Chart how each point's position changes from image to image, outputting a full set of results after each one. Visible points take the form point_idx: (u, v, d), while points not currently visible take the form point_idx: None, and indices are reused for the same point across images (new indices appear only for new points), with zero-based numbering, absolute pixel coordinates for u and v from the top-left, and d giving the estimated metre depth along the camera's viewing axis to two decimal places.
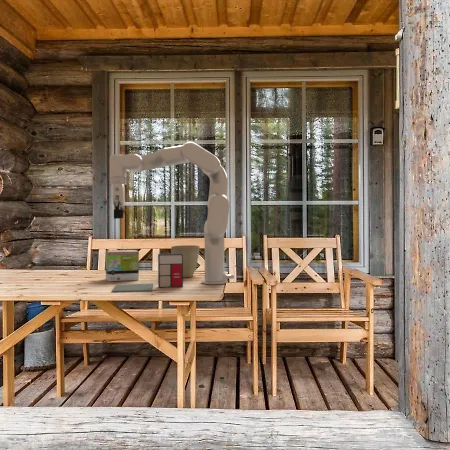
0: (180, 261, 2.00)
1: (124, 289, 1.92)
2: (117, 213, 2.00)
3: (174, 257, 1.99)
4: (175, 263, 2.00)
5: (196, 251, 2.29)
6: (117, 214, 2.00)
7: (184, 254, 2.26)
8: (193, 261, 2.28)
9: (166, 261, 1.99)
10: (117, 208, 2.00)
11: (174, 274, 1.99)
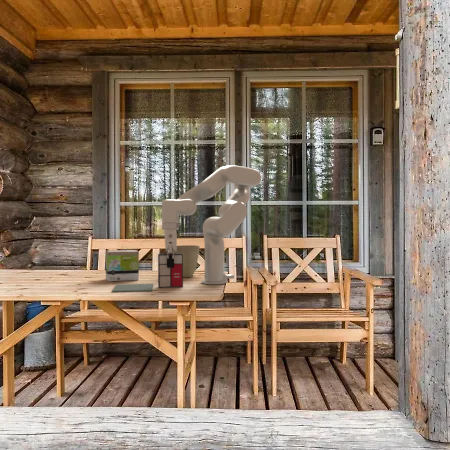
0: (180, 261, 2.00)
1: (124, 289, 1.92)
2: (170, 262, 1.97)
3: (174, 257, 1.99)
4: (175, 263, 2.00)
5: (196, 251, 2.29)
6: (170, 263, 1.97)
7: (184, 254, 2.26)
8: (193, 261, 2.28)
9: (166, 261, 1.99)
10: (171, 257, 1.97)
11: (174, 274, 1.99)
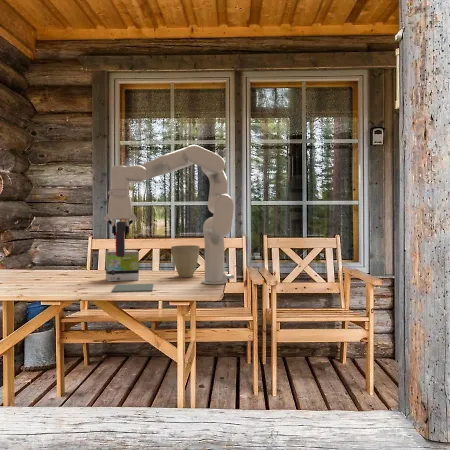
0: (116, 229, 1.91)
1: (124, 289, 1.92)
2: (112, 230, 1.95)
3: None
4: None
5: (196, 251, 2.29)
6: (112, 231, 1.95)
7: (184, 254, 2.26)
8: (193, 261, 2.28)
9: None
10: None
11: None
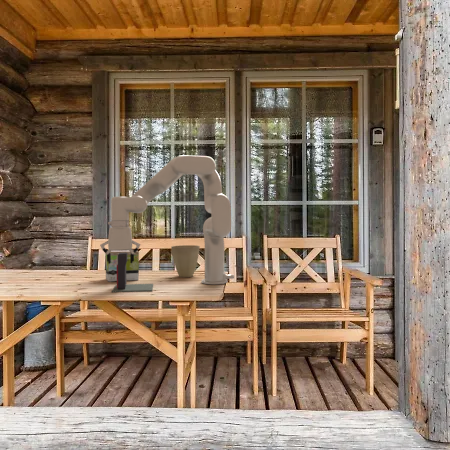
0: (117, 262, 1.92)
1: (124, 289, 1.92)
2: (107, 258, 1.95)
3: None
4: None
5: (196, 251, 2.29)
6: (107, 259, 1.95)
7: (184, 254, 2.26)
8: (193, 261, 2.28)
9: None
10: None
11: None
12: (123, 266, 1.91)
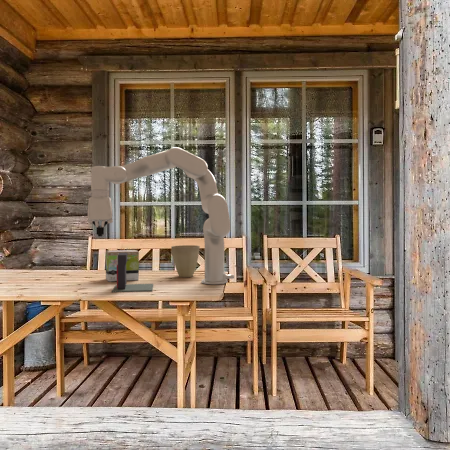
0: (117, 262, 1.92)
1: (124, 289, 1.92)
2: None
3: None
4: None
5: (196, 251, 2.29)
6: None
7: (184, 254, 2.26)
8: (193, 261, 2.28)
9: None
10: (95, 225, 1.94)
11: None
12: (123, 266, 1.91)
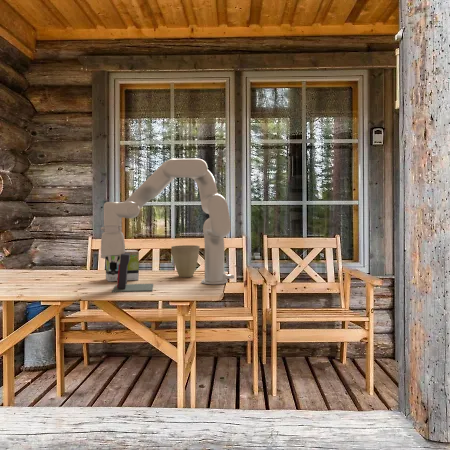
0: None
1: (124, 289, 1.92)
2: None
3: None
4: None
5: (196, 251, 2.29)
6: None
7: (184, 254, 2.26)
8: (193, 261, 2.28)
9: None
10: None
11: None
12: (125, 266, 1.91)
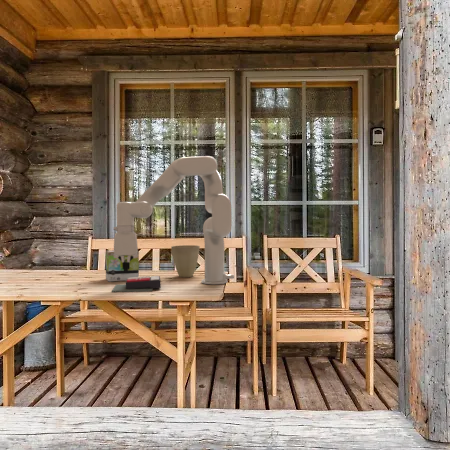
0: (152, 279, 1.94)
1: (124, 289, 1.92)
2: None
3: (157, 278, 1.97)
4: (150, 278, 1.97)
5: (196, 251, 2.29)
6: None
7: (184, 254, 2.26)
8: (193, 261, 2.28)
9: (152, 277, 2.01)
10: (121, 260, 1.96)
11: None
12: (149, 286, 1.93)
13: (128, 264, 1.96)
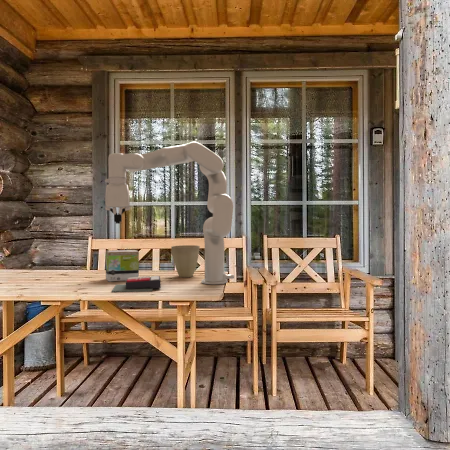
0: (152, 279, 1.94)
1: (124, 289, 1.92)
2: (114, 218, 1.95)
3: (157, 278, 1.97)
4: (150, 278, 1.97)
5: (196, 251, 2.29)
6: (114, 219, 1.95)
7: (184, 254, 2.26)
8: (193, 261, 2.28)
9: (152, 277, 2.01)
10: (113, 213, 1.95)
11: None
12: (149, 286, 1.93)
13: (120, 216, 1.95)
